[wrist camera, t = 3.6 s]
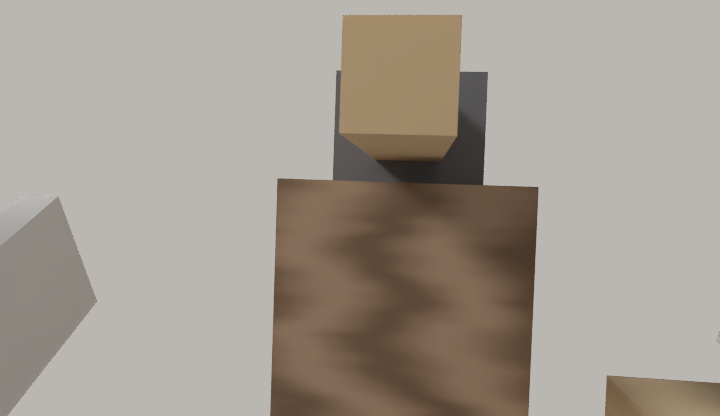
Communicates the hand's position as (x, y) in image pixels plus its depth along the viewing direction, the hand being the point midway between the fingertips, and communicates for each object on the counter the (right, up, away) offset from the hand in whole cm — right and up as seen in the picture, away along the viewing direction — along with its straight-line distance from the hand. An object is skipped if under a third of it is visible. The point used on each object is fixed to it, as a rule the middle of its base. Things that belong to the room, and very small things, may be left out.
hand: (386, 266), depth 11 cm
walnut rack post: (+1, -30, +22) cm, 37 cm away
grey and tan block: (+2, +2, +16) cm, 16 cm away
